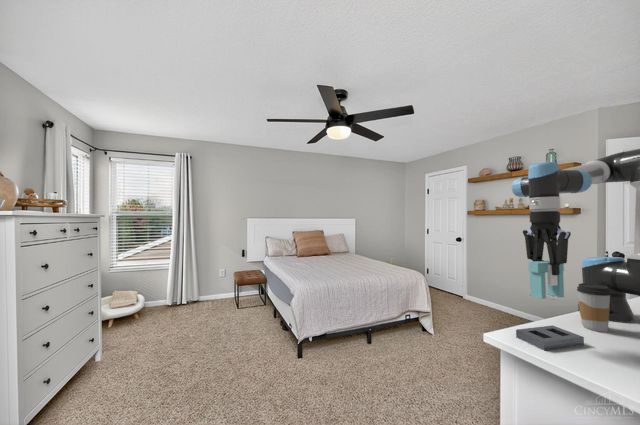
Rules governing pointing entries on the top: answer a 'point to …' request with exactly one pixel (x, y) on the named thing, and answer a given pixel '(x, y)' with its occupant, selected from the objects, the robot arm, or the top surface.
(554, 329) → the grey slotted slab
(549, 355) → the top surface
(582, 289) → the coffee cup
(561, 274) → the teal u-shaped block
